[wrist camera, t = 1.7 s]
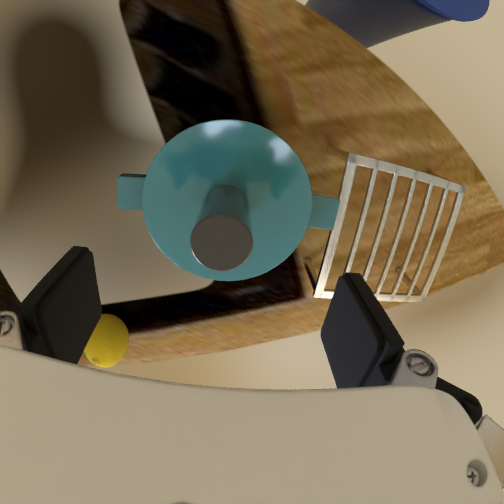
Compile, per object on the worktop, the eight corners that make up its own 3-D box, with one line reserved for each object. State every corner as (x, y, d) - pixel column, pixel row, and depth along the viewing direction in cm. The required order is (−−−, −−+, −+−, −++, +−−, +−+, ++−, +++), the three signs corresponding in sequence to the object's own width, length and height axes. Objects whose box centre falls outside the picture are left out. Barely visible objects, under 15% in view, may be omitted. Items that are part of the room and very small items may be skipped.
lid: (150, 114, 17) (109, 118, 11) (322, 132, 18) (361, 144, 12) (147, 265, 22) (120, 320, 16) (292, 279, 23) (308, 338, 17)
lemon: (95, 297, 32) (69, 340, 25) (135, 307, 33) (115, 354, 26) (98, 329, 35) (78, 372, 28) (136, 338, 35) (120, 384, 28)
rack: (326, 143, 25) (349, 152, 20) (432, 171, 27) (466, 187, 21) (301, 264, 31) (313, 297, 26) (400, 273, 32) (423, 302, 27)
